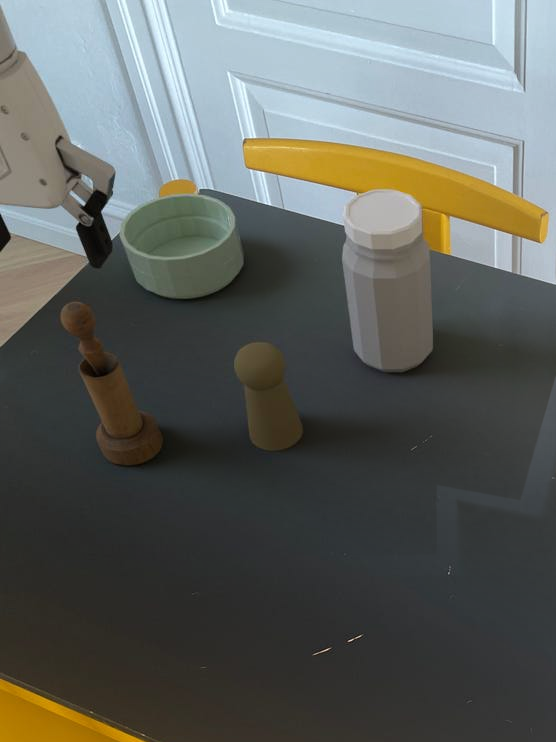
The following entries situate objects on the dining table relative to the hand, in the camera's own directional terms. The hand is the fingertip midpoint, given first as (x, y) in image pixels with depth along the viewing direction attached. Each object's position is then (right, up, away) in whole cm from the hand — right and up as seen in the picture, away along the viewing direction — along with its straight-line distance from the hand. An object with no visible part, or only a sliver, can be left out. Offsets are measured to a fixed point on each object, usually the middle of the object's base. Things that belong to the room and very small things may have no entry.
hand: (51, 253), depth 79 cm
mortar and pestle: (0, -13, +20) cm, 24 cm away
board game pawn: (+15, -11, +21) cm, 28 cm away
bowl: (0, +14, +37) cm, 40 cm away
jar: (+28, +1, +29) cm, 40 cm away
